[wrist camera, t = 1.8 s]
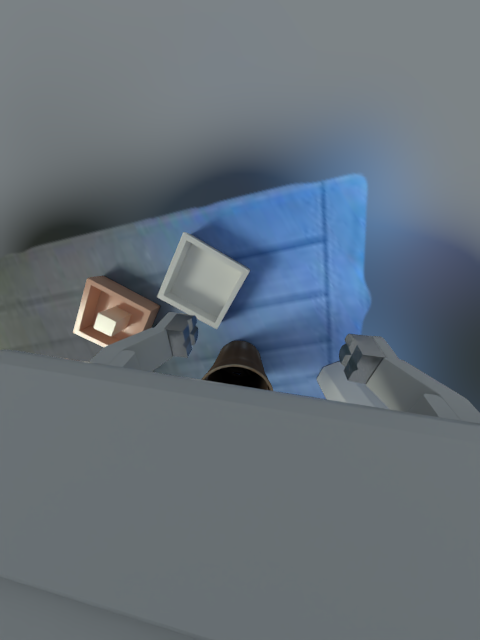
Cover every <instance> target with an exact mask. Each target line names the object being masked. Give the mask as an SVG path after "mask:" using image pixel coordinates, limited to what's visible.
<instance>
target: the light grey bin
mask: <svg viewBox="0 0 480 640" xmlns="http://www.w3.org/2000/svg"><path fill="white" fill-rule="evenodd" d="M249 272H250V269H249V268H247V267H245V266H244V265H242V264H240V263H238V262H237V261H235V260H233V259H232V258H230V257H228V256H227V255H225V254H223V253H222V252H220V251H218V250H217V249H215V248H213V247H211V246H210V245H208V244H206V243H205V242H203V241H201V240H200V239H198V238H196V237H195V236H193V235H191V234H188V233H186V232H183V234H182V237H181V239H180V242H179V244H178V247H177V249H176V252H175V254H174V256H173V259H172V261H171V264H170V266H169V269H168V271H167V274H166V276H165V278H164V281H163V283H162V286H161V288H160V291H159V293H158V296H157V298H159V299H161V300H163V301H165V302H167V303H169V304H171V305H172V306H174V307H176V308H178V309H180V310H182V311H184V312H185V313H187V314H189V315H195V316H196V318H197V319H199V320H200V321H202V322H204V323H206V324H208V325H210V326H212V327H214V328H215V329H217V328H218V326H219V325H220V323H221V321H222V319H223V318H224V316H225V314H226V312H227V310H228V309H229V307H230V305H231V303H232V302H233V300H234V298H235V296H236V295H237V293H238V291H239V289H240V287H241V286H242V284H243V282H244V280H245V279H246V277H247V275H248V273H249Z"/></svg>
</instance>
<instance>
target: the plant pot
mask: <svg viewBox="0 0 480 640" xmlns="http://www.w3.org/2000/svg"><path fill="white" fill-rule="evenodd" d="M233 372H235V373H241V375H237V374H234V373H233ZM202 380H206V381H212V382H219V383H225V384H232V385H238V386H244V387H251V388H257V389H263V390H270V391H273V388H272V385H271V383H270V382H269V380H268V378H267V376H266V374H265V372H264V368H263V364H262V361H261V357H260V353H259V352H258V350H257V349H256V348H255V346H253V345H252V344H250V343H248V342H245V341H232V342H230V343H229V344H227V345H225V346H224V347H223V348H222V349H221V351H220V353H219V355H218V357H217V359H216V361H215V363H214V365H213V366H212V367H211V369H210V370H209V371H208V373H207V374H206V375H205V376H204V377H203V378H202Z"/></svg>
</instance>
